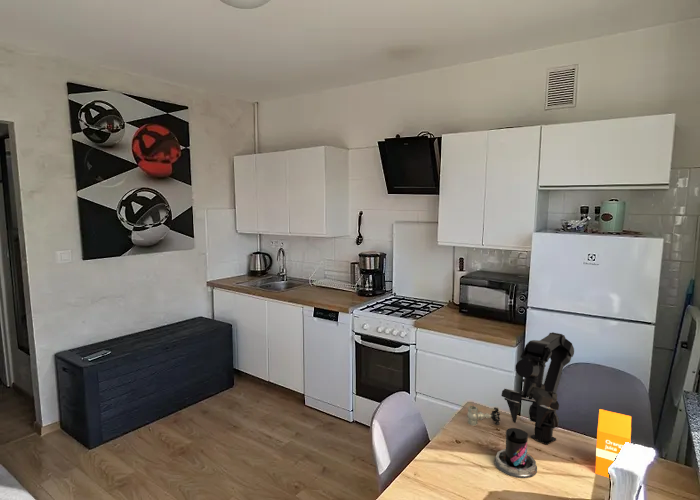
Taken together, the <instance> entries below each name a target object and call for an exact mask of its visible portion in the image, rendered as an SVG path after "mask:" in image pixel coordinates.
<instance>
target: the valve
mask: <svg viewBox="0 0 700 500" xmlns="http://www.w3.org/2000/svg"><path fill="white" fill-rule="evenodd" d="M478 410H479V408H478V407H477V406H476V405H469V406H468V408H467V424H468V425H470V426H477V425H478V420H480V421H481V420H483V419H484V418H485V419H490V418H491V419H492V421H493V422H494V424H495V425H501V420H502V419H501V417H500V415H501V413H500V411H499V407H496V406H495V407H493V410H492V411H491V412H490V413H483V412H482V411H479V412H478Z"/></svg>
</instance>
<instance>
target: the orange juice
mask: <svg viewBox="0 0 700 500" xmlns="http://www.w3.org/2000/svg"><path fill="white" fill-rule="evenodd" d="M598 411H599V412H598V421H597V422H598V423H597V432H596V448H595V450H596V451H595V471H594V473H595V474H596V475H599V476H602V477H605V478H608V479H610V478H609V474H608V467H609V466H610V465H611V464H612V463H613V462H614V460H615V458H616V456H617V455H618V453H619V452H620V450H621V448H622V446H623V445H624V444H625V442H629V443H631V438H632V437H631V436H632V416H631V415H627V414H623V413H618V412H614V411H609V410H605V409H601V408H600V409H599V410H598Z"/></svg>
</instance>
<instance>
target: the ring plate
mask: <svg viewBox="0 0 700 500" xmlns="http://www.w3.org/2000/svg"><path fill="white" fill-rule="evenodd" d="M505 450H506V448H504V449H501V450H499V451H497V453H496V456H495V458H494V465H495V467H496V468H497V469H498V470H499V471H500V472H501V473H503V474H505V475H507V476H508V477H509V476H510V477H512V478H516V479H529V478H532V477H534V476H536V474H537V473H538V466H537V464H536V463H537V461H536V460H535V459H534V457H533V456H532V455H530V454H528V453H527V465H526V466H525V467H524V468H521V469H518V468H513V467H511V466H509V465H508V464H507V463H506V461H505Z"/></svg>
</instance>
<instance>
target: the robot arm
mask: <svg viewBox="0 0 700 500" xmlns="http://www.w3.org/2000/svg"><path fill="white" fill-rule="evenodd" d="M574 355H575V348H574V345H573V343H572V342H571V341H569V340H568V339H567V337H566V336H565V335H564V334H562V333H558V332H549V333H548V334H547V335H546V336H544V337H543V338H541V339H540V340H536V339H533V340H529V341H528V342H527V343H526V345H525V346H524V349H523V350H522V352H521V355H520V360H518V361H517V363H516V364H515V372H516V373H517V376H520V377H521V382H523V386H522V390H520V391H515V390H512V389H507V388H504V389H503V390H502V391H501V396H500V397H503V399H504V401H506V403H507V406H508V408H509V412H510V415H511V420H512V423H514V424H516V423H517V420H518V412H519V408H520V406H521V405H522V403H521V401H524V402H530V403H531V405H530V406H529V408H528V410H529V411H528V413H529V421H530V422H534V434H532V435H530V438H531V439H533V440H536V442H537V441H538V442H539V443H541V444H543V445H546V446H547V445H549V444H552V443H553V442H556V441H557V438H556V437H554V436H553V432H554V429H556V428H557V429H558V428H559V422H560V421H559V420H560V419H559V416H558V414H557V411H559V409H560V403H559V402H558V393H557V390H558V387H559V384H560V379H561V377H562V373H563V370H564V367H565V366H566V365H568V364H570V362H571V360H572V358H573V357H574ZM549 360H550V363H549V366H548V368H547V373H546V375H545V379H544V374H545V370H546V369H545V368H546V366H547V365H546V363H548V362H549ZM543 382H544V383H543Z"/></svg>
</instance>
